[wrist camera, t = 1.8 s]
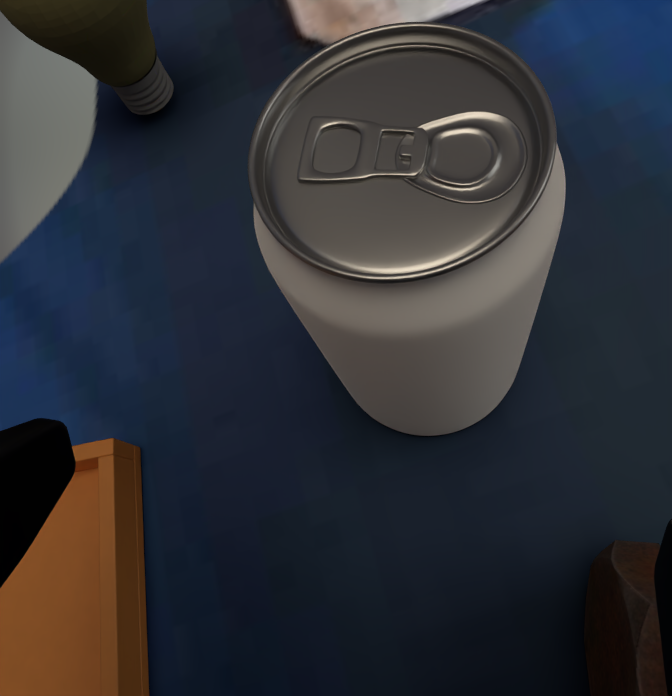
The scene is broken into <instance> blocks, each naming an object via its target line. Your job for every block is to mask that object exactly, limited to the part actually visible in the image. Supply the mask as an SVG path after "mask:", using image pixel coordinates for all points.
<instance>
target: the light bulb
mask: <svg viewBox="0 0 672 696" xmlns="http://www.w3.org/2000/svg"><path fill="white" fill-rule="evenodd" d="M0 11H1V12H2V13H3V14H4V16H5V17H6V18H7V19H8V20H9V21H10V22H11V24H12V25H14V26H15V27H16V28H17V29H18V30H19V31H20V32H22V33H23V34H24V35H25V36H27V37H28V38H29V39H31V40H33V41H34V42H36V43H37V44H39V45H41V46H42V47H44V48H46V49H48V50H50V51H52V52H54V53H57V54H59V55H61V56H63V57H65V58H67V59H70V60H72V61H73V62H75V63H77V64H79V65H80V66H82V67H83V68H85V69H86V70H87V71H88V72H89V73H90V74H92V75H93V76H94V77H95V78H96V79H98V80H100V81H101V82H103V83H105V84H108V85H110V86H111V87H112V88H113V89H114V90H115V91H116V93H117V95H118V96H119V97H120V98H121V100H122V101H123V102H124V104H125V105H126V106H127V107H128V109H129V110H130V111H131V112H133V113H135V114H139V115H146V114H151V113H154V112H157V111H160V110H161V109H162V108H163V107H164V106H165V105H166V104H167V103H168V101H169V100H170V98H171V96H172V93H173V82H172V80H171V79H170V77H169V75H168V74H167V72H166V71H165V69H164V67H163V66H162V64H161V62H160V60H159V59H158V56H157V52H156V48H155V42H154V38H153V35H152V32H151V30H150V27H149V22H148V17H147V2H146V0H0Z"/></svg>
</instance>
